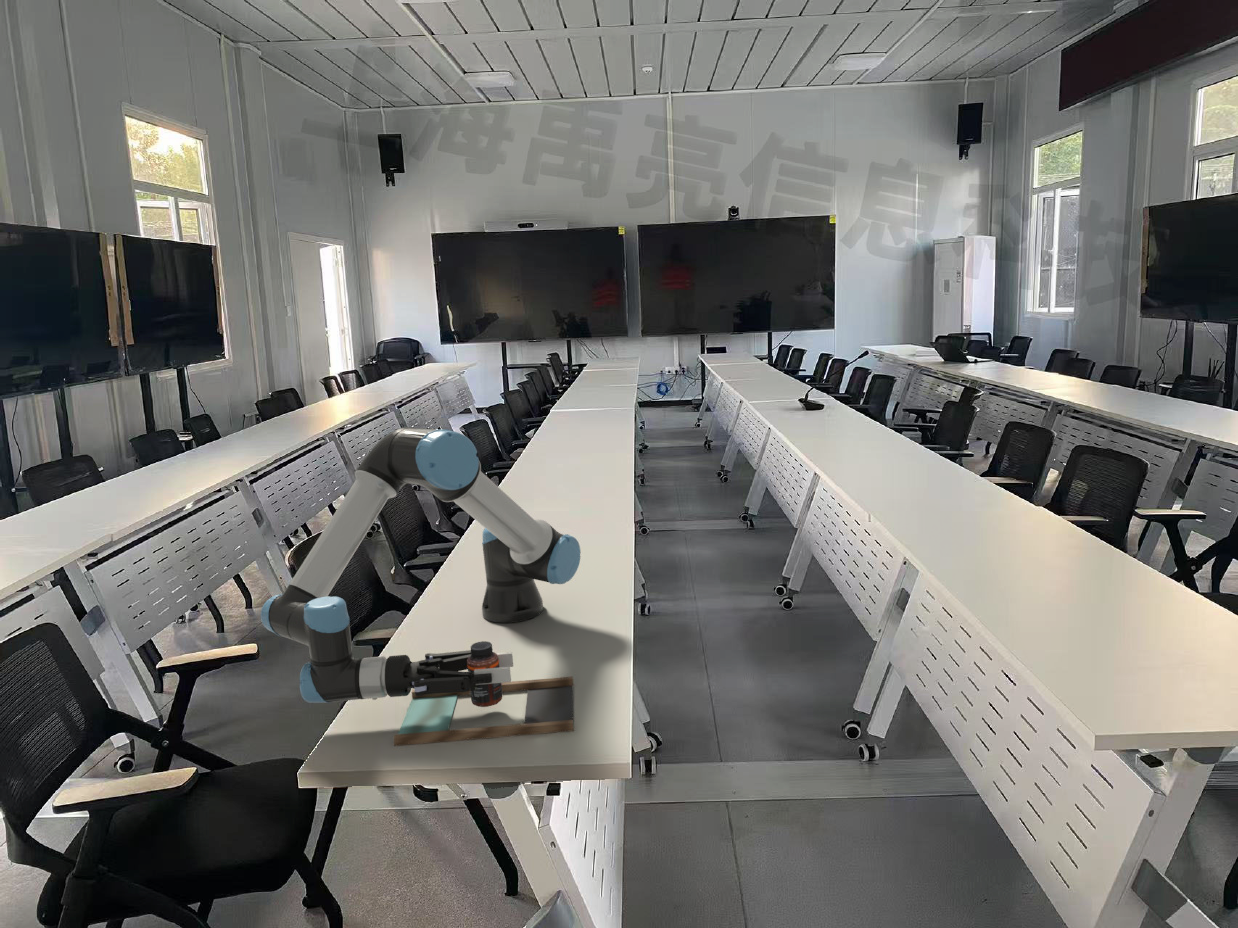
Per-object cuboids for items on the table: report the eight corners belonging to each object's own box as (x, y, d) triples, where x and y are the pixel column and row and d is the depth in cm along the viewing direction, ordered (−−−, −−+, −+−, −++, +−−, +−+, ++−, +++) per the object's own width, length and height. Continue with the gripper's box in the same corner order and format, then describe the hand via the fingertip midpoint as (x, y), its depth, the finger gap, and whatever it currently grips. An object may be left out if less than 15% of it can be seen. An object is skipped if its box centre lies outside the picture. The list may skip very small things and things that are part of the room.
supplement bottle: (504, 692, 166) (499, 637, 164) (501, 707, 161) (495, 650, 158) (473, 694, 166) (467, 639, 164) (469, 709, 160) (463, 652, 158)
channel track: (394, 745, 154) (393, 737, 154) (413, 696, 173) (412, 689, 172) (573, 730, 155) (572, 722, 155) (573, 683, 174) (572, 676, 174)
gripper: (399, 673, 171) (516, 664, 172) (379, 719, 153) (509, 708, 154) (395, 638, 170) (513, 628, 171) (374, 680, 151) (506, 669, 152)
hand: (511, 666), depth 162 cm, fingers closed on supplement bottle, 6 cm apart
